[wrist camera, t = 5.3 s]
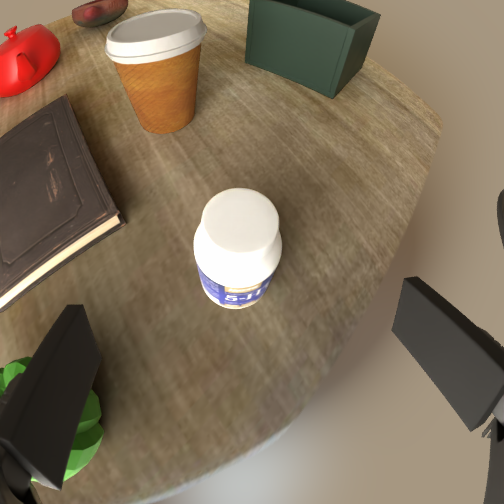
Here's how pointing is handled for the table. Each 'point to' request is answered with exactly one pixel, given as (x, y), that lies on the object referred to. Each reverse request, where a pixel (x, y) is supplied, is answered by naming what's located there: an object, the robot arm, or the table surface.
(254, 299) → the pill bottle
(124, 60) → the disposable coffee cup
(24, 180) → the hardcover book
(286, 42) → the waste bin
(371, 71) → the table surface
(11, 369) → the bell pepper
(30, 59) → the teapot
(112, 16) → the bowl
